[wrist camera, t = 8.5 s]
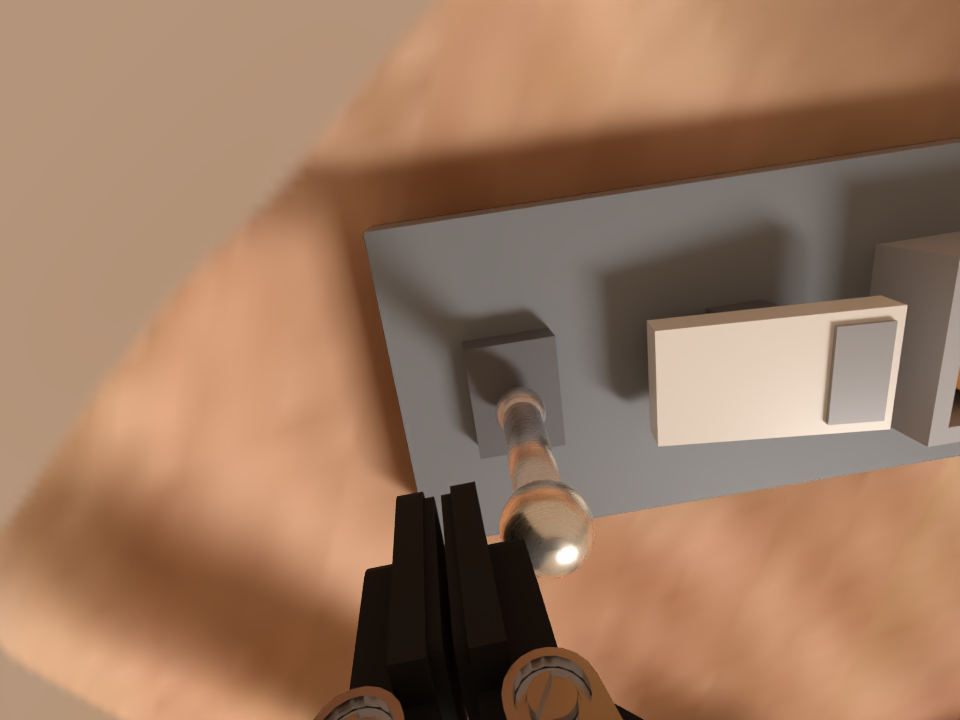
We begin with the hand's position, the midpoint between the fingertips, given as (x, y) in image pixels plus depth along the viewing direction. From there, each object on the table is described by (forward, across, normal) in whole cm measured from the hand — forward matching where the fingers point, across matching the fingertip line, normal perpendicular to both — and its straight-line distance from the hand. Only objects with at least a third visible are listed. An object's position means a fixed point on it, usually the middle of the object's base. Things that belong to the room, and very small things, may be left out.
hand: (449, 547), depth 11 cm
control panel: (+10, -11, 0) cm, 15 cm away
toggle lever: (+6, -3, 0) cm, 7 cm away
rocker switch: (+6, -11, 0) cm, 12 cm away
